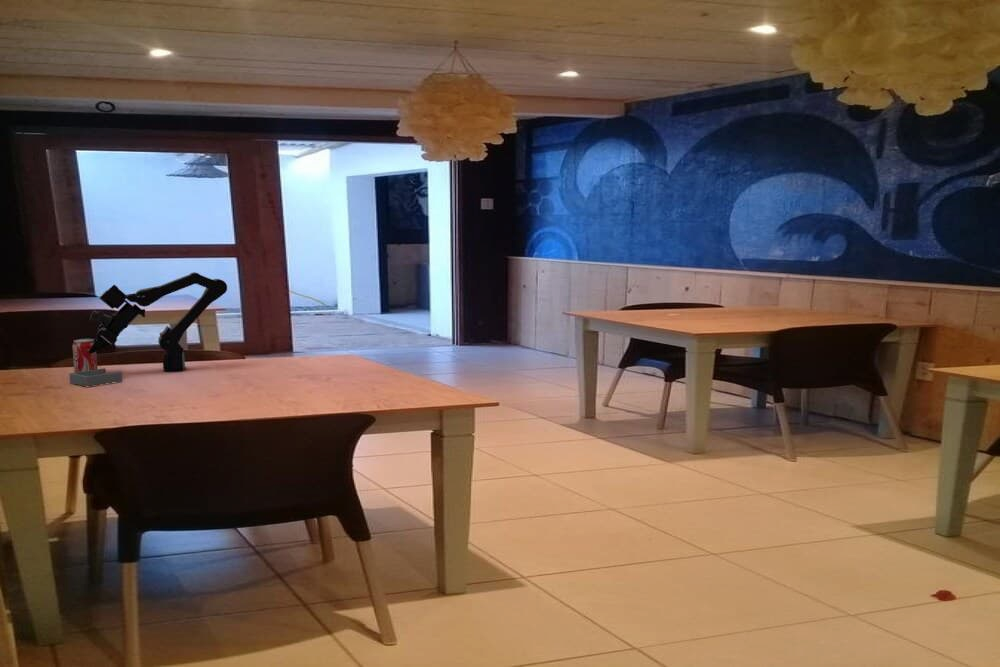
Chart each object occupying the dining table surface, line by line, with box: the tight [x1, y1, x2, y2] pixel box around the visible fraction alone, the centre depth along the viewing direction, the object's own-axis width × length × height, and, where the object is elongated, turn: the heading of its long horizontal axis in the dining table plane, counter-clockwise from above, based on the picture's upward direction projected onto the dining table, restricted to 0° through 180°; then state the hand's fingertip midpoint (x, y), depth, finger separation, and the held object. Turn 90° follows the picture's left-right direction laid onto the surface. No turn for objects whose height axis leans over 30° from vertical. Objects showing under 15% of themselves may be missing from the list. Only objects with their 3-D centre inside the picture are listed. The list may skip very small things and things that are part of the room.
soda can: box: [72, 338, 98, 373], centre depth 266 cm, size 7×7×13 cm
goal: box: [69, 367, 123, 387], centre depth 257 cm, size 12×12×3 cm
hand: (89, 351), depth 266 cm, fingers open, 9 cm apart
